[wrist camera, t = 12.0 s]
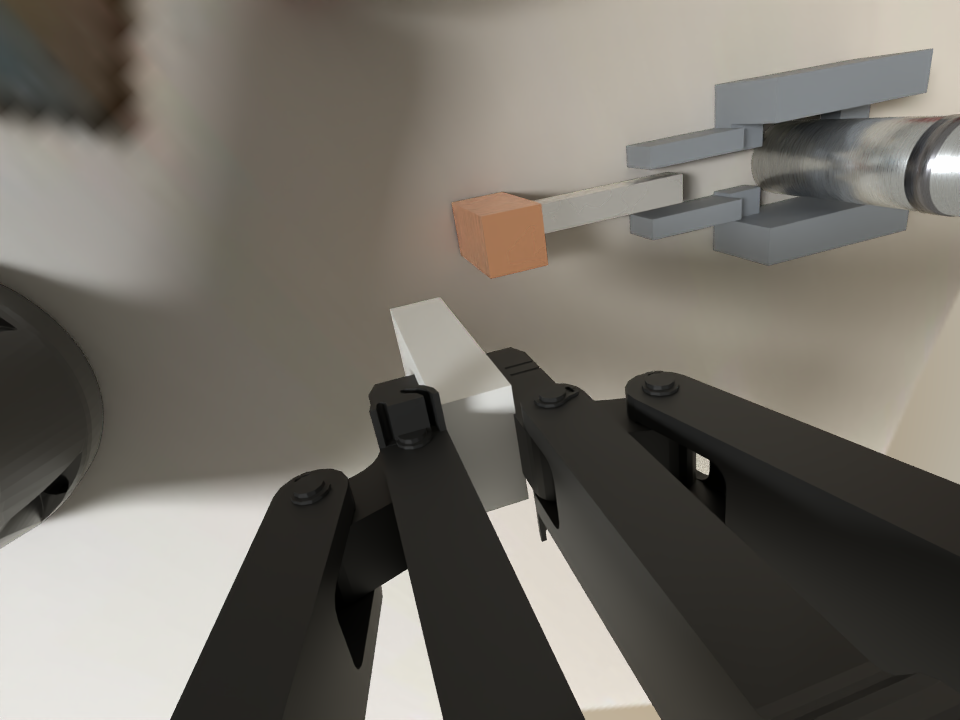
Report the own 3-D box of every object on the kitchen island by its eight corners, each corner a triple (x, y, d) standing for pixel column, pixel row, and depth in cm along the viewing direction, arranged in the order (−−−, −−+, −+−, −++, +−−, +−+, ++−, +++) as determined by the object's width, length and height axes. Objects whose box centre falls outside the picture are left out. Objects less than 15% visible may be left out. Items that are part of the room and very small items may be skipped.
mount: (632, 270, 36) (677, 289, 32) (623, 101, 32) (674, 96, 28) (838, 219, 39) (905, 229, 35) (854, 59, 35) (933, 48, 31)
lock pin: (460, 255, 33) (490, 278, 27) (451, 202, 32) (481, 216, 26) (660, 209, 35) (723, 223, 30) (658, 159, 34) (724, 164, 29)
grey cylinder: (749, 199, 37) (951, 229, 25) (751, 126, 35) (971, 122, 24) (807, 186, 38) (1028, 209, 26) (812, 113, 36) (1053, 104, 24)
